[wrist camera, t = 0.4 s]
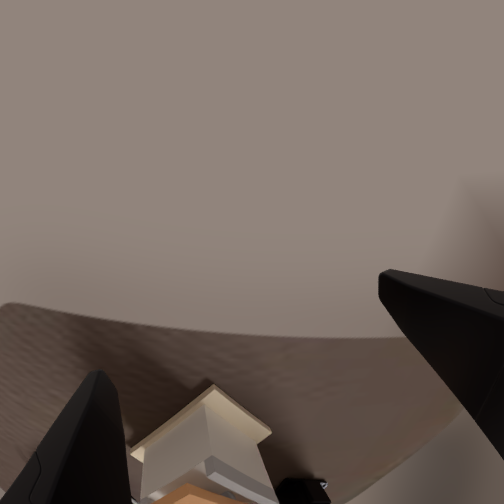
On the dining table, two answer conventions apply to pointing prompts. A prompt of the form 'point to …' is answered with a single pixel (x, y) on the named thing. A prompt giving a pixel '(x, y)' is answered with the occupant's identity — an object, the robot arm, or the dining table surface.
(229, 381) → the dining table surface
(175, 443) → the box
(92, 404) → the robot arm
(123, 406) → the dining table surface
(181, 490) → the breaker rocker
